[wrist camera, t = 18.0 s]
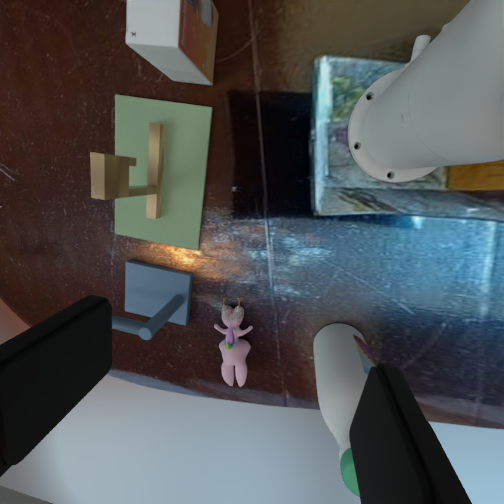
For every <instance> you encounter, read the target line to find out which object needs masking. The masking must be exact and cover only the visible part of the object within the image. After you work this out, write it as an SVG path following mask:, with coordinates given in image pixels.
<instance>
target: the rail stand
mask: <svg viewBox="0 0 504 504" xmlns="http://www.w3.org/2000/svg"><path fill="white" fill-rule="evenodd" d="M192 280H193V273H189V272H185V271H180V270H176V269H171V268H166V267H162V266H157V265H152V264H148V263H143V262H138V261H134V260H129V261H126V280H125V311H127V312H131V313H136V314H140V315H144V316H148V317H152V318H151V319H150V320H149V321H148V322H147V323H143V322H139V321H135V320H131V319H127V318H123V317H118V316H114V315H112V329H116V330H120V331H124V332H128V333H132V334H136V335H139V336H140V337H141V338H142V339H144V340H149V339H151V338H152V337H153V336H154V334H155V333H156V332H157V331H158V330H159V329H160V328H161V327H162V326H163V325H164V324H165V323H166V321H169V322H173V323H177V324H181V325H187V323H188V322H189V312H190V301H191V291H192Z"/></svg>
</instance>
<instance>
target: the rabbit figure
mask: <svg viewBox="0 0 504 504" xmlns="http://www.w3.org/2000/svg"><path fill="white" fill-rule="evenodd" d="M228 298H229V297H228ZM228 298H226V297H225V298H224V297H223V306H222V320H223V322H224V324H225V325H226V326H227V327H228V329H222V328H220V327H219V326H218V325H217V324H215V325H214V327H215V328H216V329H217V330H218V331H220V332H221V333H223V334H225V335H226V337H225V339H224V340H223V341H222V342H221V343H220V344H219V348H220V350H221V352H222V356H223V360H224V362H223V364H222V375H223V378H224V380H225V382H226V383H227V384H229V385H230V386H233V381H234V365H235V372H236V379H237V382H238V384H239V386H240V387H241V386H243V384H244V383H245V381H246V376H247V365H246V362H245V359H246V356H247V354H248V352H249V350H250V344H249V343H248V342H247V341H246V340H243V339H239V338H238V337H239V336H242V335H244V334H246V333H248V332H249V331H250V330H251V329H252V328H253V327H252V326H249V327H248V328H247V329H246V330H241V329H240V327H239V325H240V324H241V322H242V320H243V317H244V309H243V307H241V306H240V301H241V300H242V299H243V298H242V297H241V298H238V297H237V298H238V301H239V304H238V306H236V307H235V308H234V309H233V308H232V307H231V306H226V305H225V300H226V299H228Z"/></svg>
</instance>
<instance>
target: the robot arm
mask: <svg viewBox="0 0 504 504" xmlns="http://www.w3.org/2000/svg"><path fill="white" fill-rule="evenodd" d="M430 39H431V37H430V36H428V35H422V36H418V37H417V38H416V41H415V44H414V48H413V52H412V57H411V61H410V62H409V63H407V64H405V65H404V66H403V67H402V68H400V69H396V70H394V71H392V72H390V73H387V74H385V75H384V76H382V77H381V78H379V79H378V80H376V81H375V82H374V83H373V84H372V85H371V86H370V87H369V88H368V89H367V90H366V91H365V92H364V93H363V95H362V96H361V97H360V99H359V100H358V102H357V104H356V105H355V107H354V109H353V112H352V114H351V117H350V121H349V125H348V144H349V149H350V152H351V155H352V157H353V159H354V160H355V162H356V164H357V165H358V166H359V167H360V168H361V169H362V170H363V171H364V172H365V173H367V174H368V175H370V176H371V177H374V178H376V179H378V180H382V181H387V182H407V181H411V180H415V179H418V178H420V177H423V176H425V175H427V174H429V173H430V172H432V171H434V170H435V169H437V168H438V167H439V166H450V165H463V164H476V163H483V162H493V161H499V160H504V0H470V2H469V3H468V4H467V5H466V6H465V7H464V8H463V9H462V10H461V12H460V13H459V14H458V15H457V16H456V17H455V18H454V19H453V20H452V21H451V22H450V23H448V24H446V25H444V26H443V28H442V31H441V32H440V33H439V35H438V36H437V37H436V38H435V39H434V40H433V41H432V42H431V43H430V44H429V42H430ZM367 96H370V100H367V99H366V97H367ZM355 145H358V148H357V149H355V148H354V146H355ZM388 173H390V174H391V175H390V177H387V174H388ZM111 365H112V305H111V304H110V303H109V301H108V299H106V298H103V297H99V296H95V295H89V296H87V297H85V298H83V299H81V300H80V301H78V302H76V303H74V304H72V305H71V306H69V307H67V308H65V309H64V310H62V311H60V312H58V313H56V314H55V315H53V316H51V317H49V318H47V319H46V320H44V321H42V322H40V323H39V324H37V325H35V326H33V327H31V328H30V329H28V330H26V331H25V332H22V333H21V334H19V335H17V336H15V337H14V338H12V339H10V340H8V341H6V342H5V343H3V344H1V345H0V477H1V476H2V475H3V474H4V473H5V472H6V471H7V470H8V469H9V468H10V467H11V466H12V465H16V464H18V463H19V462H20V461H22V460H23V459H24V458H25V456H27V455H28V454H29V453H30V452H31V451H32V449H34V448H35V446H36V445H38V443H39V442H40V441H41V440H42V439H43V438H44V437H45V436H46V435H47V434H48V433H49V432H50V431H51V430H52V429H53V428H54V427H55V426H56V425H57V424H58V423H59V422H60V421H61V420H62V419H63V418H64V417H65V416H66V415H67V414H68V413H69V412H70V411H71V410H72V409H73V408H74V407H75V406H76V405H77V404H78V403H79V402H80V401H81V400H82V399H83V398H84V396H86V395H87V393H88V392H90V391H91V390H92V388H93V387H94V386H95V385H96V384H97V383H98V382H99V381H100V380H101V379H102V378H103V377H104V376H105V375H106V374H107V373H108V372H109V370H110V368H111ZM349 440H350V446H351V451H352V457H353V462H354V467H355V473H356V478H357V483H358V489H359V494H360V499H361V504H472V503H471V501H470V499H469V497H468V495H467V493H466V491H465V489H464V488H463V486H462V484H461V482H460V480H459V478H458V476H457V475H456V472H455V470H454V469H453V467H452V465H451V463H450V461H449V459H448V458H447V456H446V453H445V451H444V450H443V448H442V446H441V444H440V442H439V440H438V438H437V436H436V434H435V433H434V431H433V429H432V427H431V425H430V424H429V422H427V421H426V419H425V417H424V415H423V413H422V411H421V409H420V407H419V405H418V403H417V401H416V399H415V397H414V396H413V394H412V392H411V390H410V388H409V386H408V384H407V382H406V380H405V378H404V376H403V374H402V372H401V371H400V369H399V368H397V367H394V366H390V365H385V364H381V363H379V364H378V365H377V366H376V367H374V366H372V367H371V369H370V371H369V374H368V377H367V380H366V383H365V385H364V388H363V391H362V394H361V397H360V400H359V403H358V406H357V409H356V412H355V414H354V417H353V420H352V423H351V426H350V431H349ZM0 504H52V503H49V502H46V501H43V500H41V499H38V498H35V497H32V496H29V495H26V494H23V493H20V492H17V491H14V490H11V489H8V488H5V487H2V486H0Z"/></svg>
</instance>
